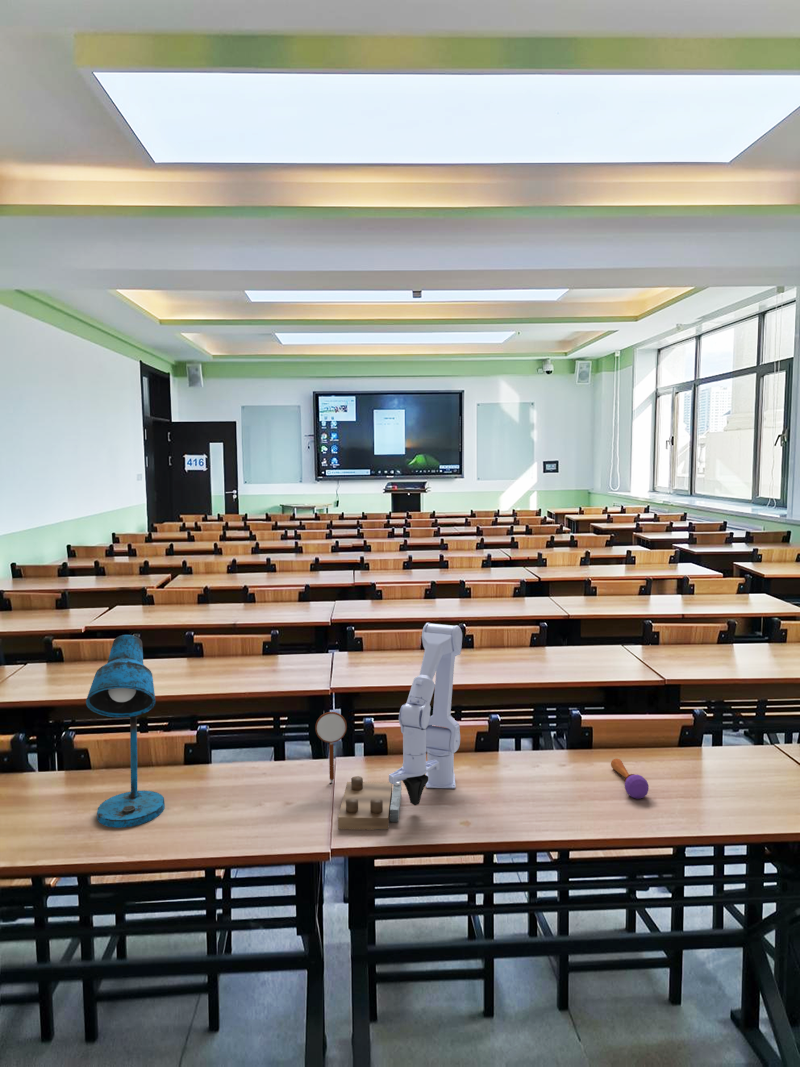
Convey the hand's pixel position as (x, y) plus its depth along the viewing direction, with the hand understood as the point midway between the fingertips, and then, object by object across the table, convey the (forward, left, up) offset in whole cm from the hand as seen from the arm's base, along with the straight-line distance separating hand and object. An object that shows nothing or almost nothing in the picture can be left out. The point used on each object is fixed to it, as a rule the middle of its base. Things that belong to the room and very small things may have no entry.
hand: (414, 803), depth 175 cm
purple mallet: (-18, +58, -3) cm, 61 cm away
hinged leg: (-2, -5, -2) cm, 6 cm away
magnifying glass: (-16, -23, -3) cm, 28 cm away
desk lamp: (+4, -71, -3) cm, 71 cm away
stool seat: (-1, -12, -2) cm, 12 cm away
